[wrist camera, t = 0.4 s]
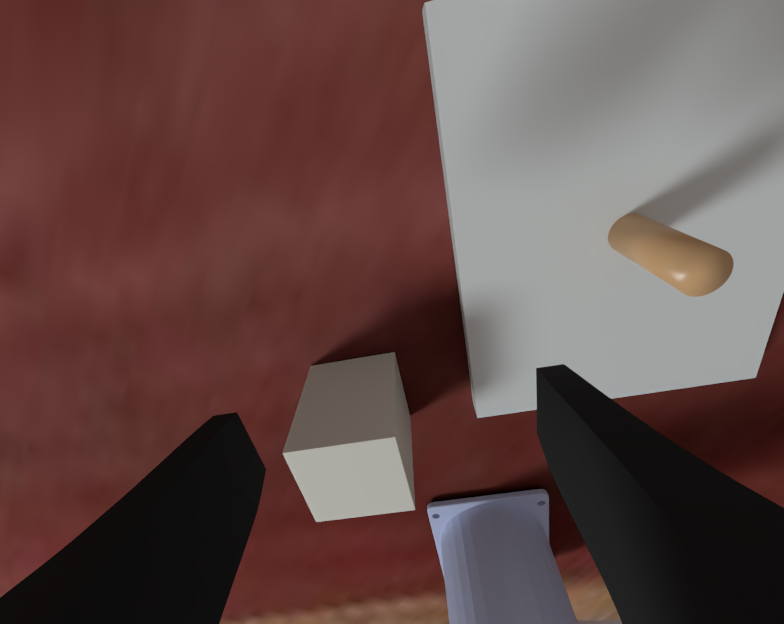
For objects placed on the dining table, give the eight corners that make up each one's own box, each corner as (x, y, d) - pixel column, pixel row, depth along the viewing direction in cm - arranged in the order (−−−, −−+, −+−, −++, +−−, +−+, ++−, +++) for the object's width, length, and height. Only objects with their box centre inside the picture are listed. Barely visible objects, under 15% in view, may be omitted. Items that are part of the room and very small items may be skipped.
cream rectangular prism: (410, 416, 22) (415, 509, 17) (334, 427, 22) (316, 522, 17) (394, 351, 20) (395, 437, 14) (310, 365, 20) (282, 453, 15)
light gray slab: (736, 363, 20) (846, 444, 15) (473, 402, 21) (496, 489, 16) (871, -103, 11) (1220, -260, 7) (422, 11, 13) (439, -49, 8)
